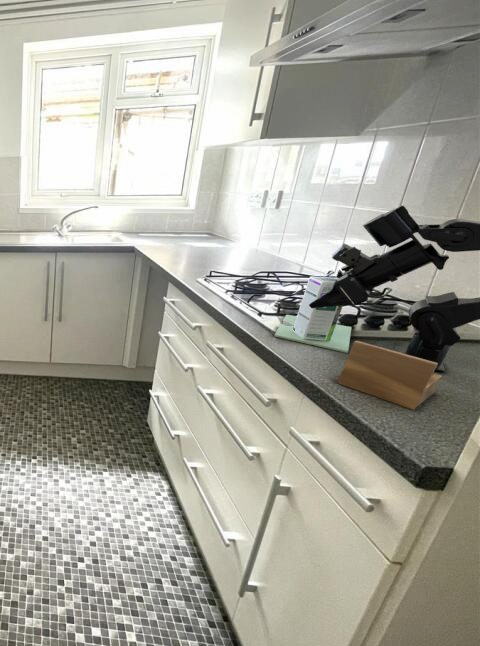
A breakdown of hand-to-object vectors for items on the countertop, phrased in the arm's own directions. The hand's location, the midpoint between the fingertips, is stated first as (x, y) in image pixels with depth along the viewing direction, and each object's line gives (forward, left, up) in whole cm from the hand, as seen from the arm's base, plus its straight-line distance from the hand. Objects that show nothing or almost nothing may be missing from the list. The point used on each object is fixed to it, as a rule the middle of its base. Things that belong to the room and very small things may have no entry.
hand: (312, 301), depth 99 cm
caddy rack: (+20, +15, -9) cm, 27 cm away
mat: (-6, +2, -9) cm, 11 cm away
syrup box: (-1, +2, -9) cm, 9 cm away
